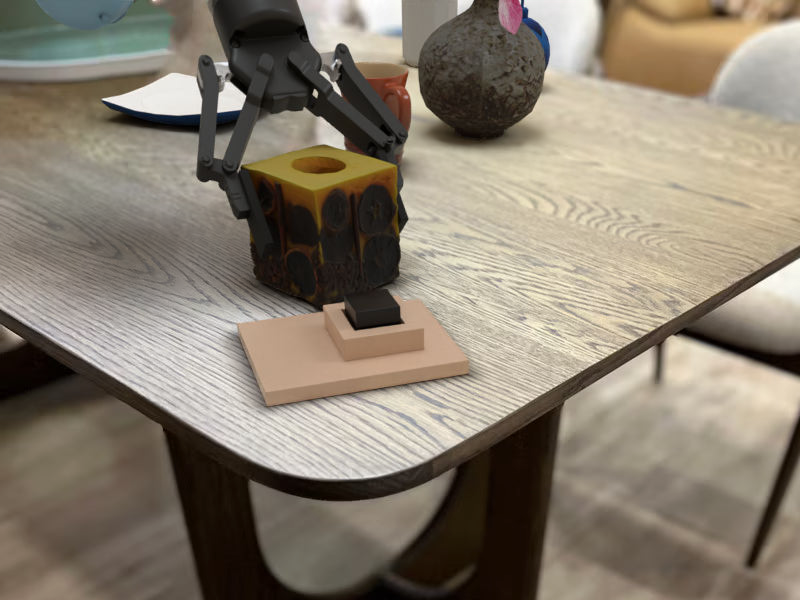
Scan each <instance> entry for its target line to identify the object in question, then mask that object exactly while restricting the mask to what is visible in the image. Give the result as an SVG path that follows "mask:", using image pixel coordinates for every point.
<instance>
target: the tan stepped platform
mask: <svg viewBox="0 0 800 600" xmlns="http://www.w3.org/2000/svg"><path fill="white" fill-rule="evenodd" d="M392 296H393V298H394V299H395V300H396V302H397V303H398V304H399V305H400V312H401V324H399V325H392V326H385V327H378V328H371V329H364V330H357V331H355V329H354V328H353V326H352V325H351V323H350V321H349V320H348V318H347V317H346V315H345V305H344V302H340V303H336V304H329V305H323V308H322V311H318V312H312V313H305V314H297V315H290V316H282V317H275V318H267V319H259V320H252V321H245V322H237V323H236V329H237V335H238V338H239V341H240V343H241V346H242V348H243V351H244V353H245V356H246V359H247V360H248V363H249V365H250V368H251V370H252V372H253V375H254V377H255V380H256V382H257V385H258V387H259V390H260V392H261V394H262V397H263V400H264V402H265V405H266V407H272V406H273V407H274V406H277V405H278V406H279V405H285V404H290V403H296V402H304V401H308V400H309V401H310V400H315V399H321V398H327V397H334V396H341V395H345V394H346V395H347V394H352V393H359V392H364V391H371V390H376V389H377V390H378V389H383V388H390V387H395V386H401V385H406V384H407V385H408V384H413V383H419V382H426V381H432V380H437V379H438V380H439V379H445V378H451V377H456V376H462V375H468V374H469V371H470V359H469V358H468V357H467V356H466V354H465V353H464V352H463V350H462V349H461V348H460V347H459V346H458V344H457V343H456V342H455V340H453V337H452V336H450V335H449V333H448V332H447V331H446V330H445V328H444V327H443V326H442V324H441V323H440V322H439V321H438V319H436V317H435V316H434V315H433V314H432V312H431V311H430V309H429V308H428V307H427V305H425V304H424V302H423V301H422V300H421V298H414V299H407V300H403V298H402V296H400V295H399V294H397V295H392Z"/></svg>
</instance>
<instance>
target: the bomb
mask: <svg viewBox="0 0 800 600" xmlns="http://www.w3.org/2000/svg"><path fill="white" fill-rule="evenodd" d="M520 4H521V7H522V14H523V15H522V20H521V21H522V22H524V23H525V24H526V25H527V26H528V27H529V28H530V29H531V30H532V31H533V33H534V34H535V35H536V37H537V38H538V39H539V41H540V42H541V45H542V47H543V50H544V52H545V72H546V70H547V69H548V66H549V63H550V57H551V44H550V40H549V37H548V34H547V33H546V30H545V29H544V27H543V26H542V25H541V24H540V23H539V21H537V20H535V19H533V18H531V17H529V8H528V7H526V6H525V0H520Z"/></svg>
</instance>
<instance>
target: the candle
mask: <svg viewBox="0 0 800 600" xmlns="http://www.w3.org/2000/svg"><path fill="white" fill-rule="evenodd" d="M243 169H248V172H249V174H250V177H251V180H252V183H253V186H254V188H255V191H256V194H257V197H258V200H259V202H260V205H261V208H262V211H263V214H264V216H265V219H266V222H267V225H268V228H269V230H270V233H271V236H272V239H273V242H274V244H273V247H272V250H271V253H270V256H269V258H266V259H260V256H259V253H258V251H257V248H256V245H255V242H254V239H253V237H252V234H251V231H250V230H249V246H250V249H249V250H250V251H249V252H250V256H251V260H252V263H253V267H252V273H253V276H254V278H255V280H257V281H259V282H261V283H263V284H265V285H267V286H270V287H272V288H274V289H276V290H278V291H280V292H282V293H284V294H287V295H290V296H293V297H295V298H302V299H303V300H306V301H308V302H309V303H311V304H313V305H315V306H316V307H318V308H319V309H323V305H329V304H336V303H344V294H350V293H357V292H365V291H373V290H375V289H377V288H378V287H381V286H383V285H385V284H388V283H390V282H393V281H395V280H397V279H398V278H399V277H400V274H401V273H400V262H401V258H402V252H401V251H402V249H401V245H400V242H401V235H400V234H401V233H400V234H399V227H398V204H397V200H396V198H397V194H398V192H397V166H396V165H394V164H391V163H388V162H385V161H381V160H378V159H375V158H372V157H368V156H364V155H360V154H357V153H353V152H349V151H346V150H345V149H342V148H338V147H335V146H332V145H329V144H324V143H323V144H322V143H321V144H316V145H312V146H309V147H304V148H302V149H301V148H300V149H297V150H293V151H289V152H285V153H282V154H279V155H275V156H273V157H269V158H265V159H262V160H258V161H254V162H250V163H244V164H240V166H239V170H243Z"/></svg>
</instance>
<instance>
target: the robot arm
mask: <svg viewBox="0 0 800 600" xmlns="http://www.w3.org/2000/svg"><path fill="white" fill-rule="evenodd" d="M34 1H35V2H36V3H37V5H38V6H39V7H40V8H41V9H42V10H43V11H44V12H45V14H47V15H48V16H49V17H51V18H52V19H53V20H54V21H56V22H57V23H60V24H62V25H64V26H66V27H68V28H71V29H74V30H79V31H96V30H99V29H101V28H104V27H107V26H108V25H110V24H111V25H115V24H117V23H118V22H120V21H121V20H122V19H124V17H125V16H127V13H128V11H129V10H130V8H131V7H132V6H133V4H135V3H136V2H137V1H138V0H34ZM205 3H206V5H207V9H208V11H209V13H210V15H211V17H212V21H213V25H214V27H215V30H216V33H217V36H218V38H219V42H220V44H221V47H222V49H223V52H224V55H225V58H226V59H227V61H214V60H213V58H212V57H211V56H210V55H208V54H200V56H199V57H198V61H197V70H196V76H195V77H196V80H197V84H198V87H199V91H200V94H201V97H202V107H201V120H200V125H199V134H198V145H197V157H196V170H195V171H196V172H195V175H196V179H197V180H198V181H199V182H202V183H208V182H210V181H212V182H216V183H217V185H218V188H219V189H220V190H221V191H222V192H224V193H225V195H226V198H227V201H228V203H229V206H230V209H231V213H232V215H233V216H234V217H235V219H236V220H237V221H240V220H246V222H247V224H248V228H249V232H250V231H251V234H252V237H253V239H254V242H255V245H256V248H257V251H258V253H259V256H260V259H266V258H269V256H270V253H271V250H272V247H273V244H274V242H273V239H272V236H271V233H270V230H269V228H268V225H267V222H266V219H265V216H264V214H263V211H262V208H261V205H260V202H259V200H258V197H257V194H256V191H255V188H254V186H253V183H252V180H251V177H250V174H249V172H248V169H243V170H240V167H241V163H242V162H243V161H242V160H243V158H244V155H245V152H246V149H247V147H248V145H249V142H250V139H251V136H252V133H253V131H254V128H255V125H257V121H258V118H259V115H260V113H261V110H263V111H265V112H269V113H268V114H269V115H278V114H281V113H284V112H285V111H288V112H295V113H296V112H303V111H304V109H306V110H307V111H308V112H310V113H311V114H312V115H313V116H314V117H317V118H322V119H323V120H325V122H326V123H328V124H329V125H330V126H332V128H334V129H335V130H336V131H338V132H339V133H340V134H341V135H342V136H343V137H344V136H345V137H346V138H347V139H348V140H350V141H351V142H352V143H353V144H354V145H356V146H357V147H358V148H359V149H360V150H362V151H363V152H364V153H365V154H366V155H367V156H369V157H372V158H375V159H378V160H381V161H385V162H388V163H391V164H394V165H396V166H397V192H398V194H397V198H396V200H397V204H398V227H399V234H401V233H402V231H403V230H404V228H405V226H406V225H407V224H408V221H409V220H410V218H409V216H408V212H407V209H406V207H405V204H404V201H403V199H402V196H401V191H402V189H403V188H404V177H403V175H402V171H401V170H400V166H399V165H398V163H397V160H396V157H395V155H399V153H400V152H401V150H402V148H403V146H404V147H405V145H406V143H407V140H408V138H409V132H407V130H406V129H405V128H404V126H403V125H402V124H401V123H400V121H399V120H398V119H397V118H396V116H395V115H394V114H393V113H392V111H391V110H390V109H389V107H388V106H387V105H386V104H385V102H384V101H383V100H382V99H381V97H380V96H379V95H378V94H377V92H376V91H375V90H374V89H373V87H372V86H371V85H370V84H369V82H368V81H367V80H366V79H365V77H364V76H363V75H362V74H361V72H360V71H359V70H358V69H357V67H356V66H355V63H356V62H355V60H354V59H353V56H352V53H351V51H350V49H349V47H348V45H346V44H345V43H343V42H339V43H337V44H336V46H335V48H334V51H333V50H332V51H327V52H322V53H320V52H319V51H318V50H317V49H316V48H315V47H314V46H313V44H312V43H311V40H310V37H309V32H308V30H307V26H306V23H305V20H304V17H303V14H302V11H301V9H300V5H299V2H298V0H205ZM321 72H323V73H326V74H327V75H328V77H329V80H328V79H327V78H326V77H325V76H324V75H322V74H321ZM228 81H229V82H230V83H232V84H233V85H234V86H235V87H236V88H238V89H239V90H240V91H241V92H242V93H243V94H245V95H246V99H245V102H244V104H243V107H242V110H241V112H240V115H239V118H238V120H236V123H235V126H234V129H233V132H232V133H231V137H230V140H229V143H228V144H227V148H226V150H225V152H224V156H223V158H216V157H215V147H216V146H215V144H216V133H217V125H216V122H217V109H218V96H219V92H222V91H223V90H224V85H225V82H228ZM332 83H336V85H337V87H338V89H339V91H341V92H342V93H343V95H344V96H345V97H346V98H347V100H348V101H349V102H350V103H351V104H349V103H348V102H347V101H346V100H345V99H344V98H342V96H341V94H339V93H338V92H336V91H335V88H334V85H333V84H332ZM314 91H316V92H317V96H315V95H314ZM341 92H340V93H341ZM404 144H405V145H404Z"/></svg>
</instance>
